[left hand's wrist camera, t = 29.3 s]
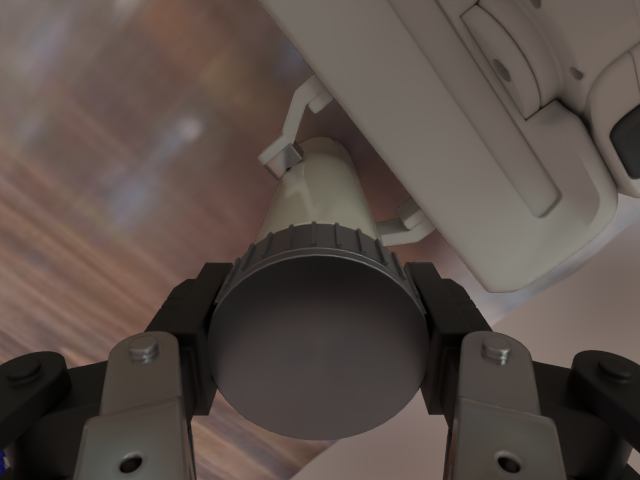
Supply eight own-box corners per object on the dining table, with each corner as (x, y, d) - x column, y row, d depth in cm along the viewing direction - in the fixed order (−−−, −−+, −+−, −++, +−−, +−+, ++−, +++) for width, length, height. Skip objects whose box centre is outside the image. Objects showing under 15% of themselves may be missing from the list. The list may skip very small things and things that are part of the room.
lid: (421, 376, 12) (439, 431, 10) (245, 397, 12) (231, 454, 10) (408, 205, 10) (428, 234, 8) (199, 235, 10) (173, 269, 8)
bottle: (359, 195, 28) (422, 383, 11) (296, 210, 28) (257, 414, 11) (345, 129, 26) (392, 227, 9) (278, 146, 27) (201, 269, 10)
